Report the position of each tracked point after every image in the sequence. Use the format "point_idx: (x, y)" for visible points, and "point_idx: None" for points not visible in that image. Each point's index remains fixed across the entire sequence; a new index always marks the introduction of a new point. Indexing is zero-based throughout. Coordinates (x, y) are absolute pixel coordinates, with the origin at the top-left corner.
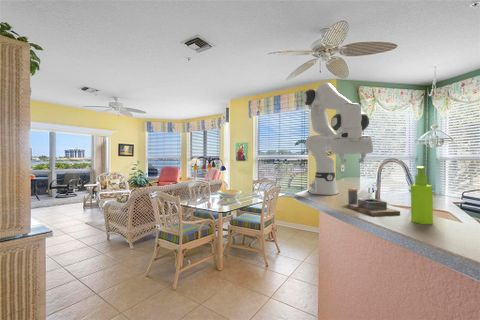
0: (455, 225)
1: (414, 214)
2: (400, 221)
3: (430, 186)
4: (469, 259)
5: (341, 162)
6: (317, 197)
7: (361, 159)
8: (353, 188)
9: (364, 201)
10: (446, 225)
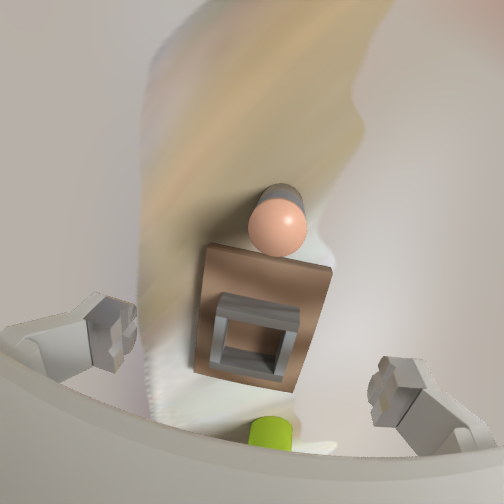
0: (308, 452)
1: (249, 439)
2: (225, 412)
3: None
4: None
5: (95, 298)
6: None
7: (378, 423)
8: (297, 217)
9: (212, 342)
10: (291, 449)
